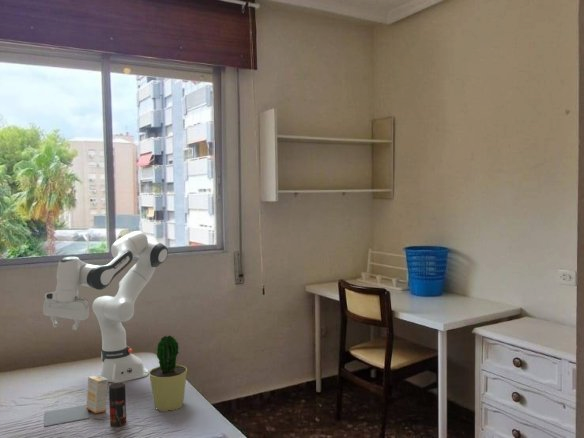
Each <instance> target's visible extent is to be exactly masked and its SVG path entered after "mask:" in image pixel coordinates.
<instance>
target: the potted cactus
mask: <svg viewBox="0 0 584 438" xmlns="http://www.w3.org/2000/svg"><path fill="white" fill-rule="evenodd" d="M179 343H180V342H179V341H177V339H175V336H174V335H173V336H172V335H164V336H162V337H161V338H160V340H159V341H158V343H157V345H156V347H155V350H156V358H157V361H156V362H158V364H159V366H156V367H154V368H152V369H150V370H149V371H148V375H149V380H150V386H151V389H152V395H153V401H154V406H155V409H156V408H157V409H159V410H164V411H163V412H169V411H168V410H173V411H176V410H178V408H179V409H181V408H182V406H183V405H184V401H185V391H186V381H187V373H188V368H187V366H184V365H181V364H177V362H178V361H177V359H178V354H181V352H179V349H180V348H181V347H179ZM157 409H156V410H157ZM175 409H176V410H175ZM159 410H158V411H159Z"/></svg>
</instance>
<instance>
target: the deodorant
mask: <svg viewBox="0 0 584 438" xmlns="http://www.w3.org/2000/svg"><path fill="white" fill-rule="evenodd" d="M126 394H127V393H126V384H125V382H120V383H112V384H110V385H109V386H108V398H109V399H108V403H109V406H108V407H109V425H110V427H112V428H120V427H123V426H125V425H126V424H127V401H126V397H127V396H126Z"/></svg>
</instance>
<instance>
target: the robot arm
mask: <svg viewBox="0 0 584 438" xmlns="http://www.w3.org/2000/svg"><path fill="white" fill-rule="evenodd" d="M110 247H111V248H110V252H111V255H112V258H113V259H112V260H111V261H109V263H108V264H105V265H96V264H91V263H88V262H85V261H82V260H81V259H80V258H79V257H78V256H65V257H62V258H61V259H60V260H59V262H58V264H57V268H56V269H57V270H56V281H57V283H56V287H55V290H54V291H51V292H47V293H45V294H44V298H45V299H44V301H43V305H42V313H43V316H47V317H50V320H51V323H52V327H53V328H57V327H59V323H60V322H58V321H57V318H60V319H61V318H62V319H70V320H74V324H72V325H71V330H73V331H77V330H78V327H79V324H80V323H81V321H85V320H88V318H89V317H90V309H89V300H88V299H87V298H86V297H81V296H79V289H80V286H84V287H86V288H87V287H88V288H92V289H95V290H99V291H101V290H104V289H106V288H107V287H109V285H110V284H111V283H112V281H113V280H114V279H115V278H116V277H117V275H119V274H120V273H121V272H122V271H123V270H125V268H127V267H128V266H129V265H130V264H131V262H132V261H133V258H135V257H136V258H138V259H137V262H135V263H134V264H133V265H132V267H130V269H129V270H128V271H127V272H126V273H125V275H124V276H123V277H122V278H121V280H120V281H119V282H118V289H117V290H118V291H117V293H116V294H115V295H114V296H111V295H102V296H99V297H96V298H95V299H94V300H93V303H92V312H93V313H94V315H95V316H96V318H97V322H98V325H99V328H100V332H101V347H102V348H101V352H100V354H101V355H100V357H101V358H100V359H101V361H102V362H101V371H100V376H102V377H104V378H106V379H108V383H112V384H114V383H125V382H129V381H132V380H137V379H141V378H145V377H147V376H148V375H149V369H148V368H147V367H145V366H144V363H143V361H142V360H141V358H140V357H138V356H136V355H135V354H133V349H132V348H131V347H130V346H129V345H127V331H126V329H125V327H124V326H123V323H122V322H128V321H130V320H131V319H132V318H133V316H134V314H135V303H136V301H137V298H138V296H140V295H139V294H140V293H141V292H142V291H143V289H144V288H145V287H146V286H147V284H148V283H149V282H150V281H151V279H152V277H153V274H154V273H155V271H156V268H157V267H158V266H160V265H161V264H163V263H164V262H165V261H166V259H167V258H168V254H169V251H168V250H169V249H168V247H167V246H166V245H165V244H163V243H161V242H158V241H156V240H154V239H151V238H148V237H147V235H146V234H145V232H143V231H141V230H135V231H132V232H130V233H127V234H126V235H123V236H122V237H120V238H118V239H117V240H115V241H114V242H113V243H112V245H111V246H110Z"/></svg>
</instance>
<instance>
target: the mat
mask: <svg viewBox="0 0 584 438" xmlns="http://www.w3.org/2000/svg"><path fill="white" fill-rule="evenodd" d="M86 407H87V404H83V405H82V404H81V405H77V406H71V407H70V406H69V407H65V408H60V409H59V408H58V409H55V410H54V409H53V410H49V411H44V419H43V420H44V421H43V428H47V427H51V426H57V425H63V424H67V423H74V422H78V421H83V420H89V419H90V413H89V409H87V408H86Z"/></svg>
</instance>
